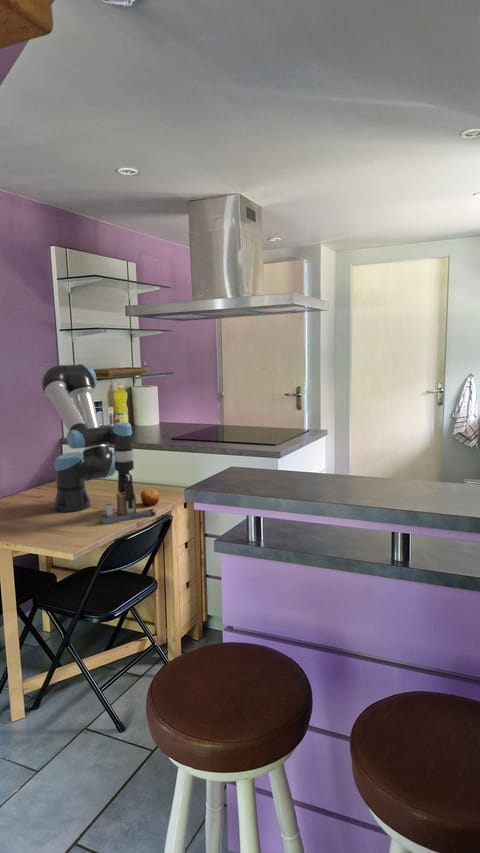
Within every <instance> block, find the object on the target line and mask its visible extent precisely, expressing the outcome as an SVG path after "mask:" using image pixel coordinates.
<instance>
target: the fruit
mask: <svg viewBox="0 0 480 853" xmlns="http://www.w3.org/2000/svg"><path fill="white" fill-rule="evenodd" d="M140 500H141V504H142V505H146V506H148V507H149V506H153V505H155V504H157V503H159V501H160V493H159V491H158V490H156V489H154V488H152V487H148V488H145V489H143V490H142V491H141V493H140Z"/></svg>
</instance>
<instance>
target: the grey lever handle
mask: <svg viewBox="0 0 480 853" xmlns="http://www.w3.org/2000/svg"><path fill="white" fill-rule="evenodd" d="M113 510H114V509H113V503H106V504H105V514H100V522H101V524H103V525H104V526H105V525H111V524H116V523H120V522H123V521H130V520H136V519H142V518H148V517H149V518H150V517H155V516H156V515H157V514H156V512H157V511H156V509H153V508H150V509H144V510H138V511H137V510H136V512H131V513H124V514H119V513H117V512H114V511H113Z"/></svg>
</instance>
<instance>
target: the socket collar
mask: <svg viewBox="0 0 480 853" xmlns="http://www.w3.org/2000/svg"><path fill="white" fill-rule="evenodd" d="M134 497H135V499H134V500H133V506H134V512H137V498H136V493H134ZM125 499H127V498H126V493H125V492H121V493H119V492H116V508H117V511H116V512H117V514H124V513H127V507H126V501H125Z"/></svg>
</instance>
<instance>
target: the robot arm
mask: <svg viewBox="0 0 480 853" xmlns="http://www.w3.org/2000/svg"><path fill="white" fill-rule="evenodd" d="M41 387H42V391H43V393H44V395H45V396H46V397H47V398H49V400H50V401H51V403H52V404H53V406H54V408H55V409H56V411H57V414H58V415H59V417H60V419H61V421H62V422H63V424H64V426H65V428H66V429H67V432H66V442H67V446H68V447H69V448H71V449H73V450H74V449H83V448H84V449H83V450H82V452H80V451H74V452H67V453H63V454H61V455H59V456H57V457H56V459H55V461H54V466H55V467H54V470H55V479H56V480H55V482H56V495H55V498H54V502H53V509H54V511H56V512H61V513H67V512H69V513H71V512H79V511H82V510H85V509H87V508H89V507H91V500H90V497H89V494H88V492H87V490H86V484H85V483H86V482H87V481H94V480H98V479H105V478H109V477H112V476H113V475H114V474H115V473H116V471H117V475H118V478H117V491H118V493H121V492H125V493H126V498H127V499H125V501H126V507H127V513H131V512H134V506H133V500H134V499H135V497H134V494H135V492H134V486H133V475H131V473H130V471H133V470H134V469H135V468H134V466H135V465H134V464H135V463H134V450H133V448H134V447H133V430H132V424H131V423H130V422H116V423H113V425H112V424H107V425H106V424H103V425H102V426H101V425H100V422H99V418H98V413H97V410H96V407H95V401H94V398H93V393H94V392H95V389H96V387H97V374H96V372H95V370H94V368H92V366H90V365H89V364H81V363H78V364H66V365H65V364H57V365H54V366H51V367H49V368H48V369H47V370H46V372H44V374H43V376H42V380H41ZM109 445H113V449H110V446H109Z"/></svg>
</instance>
